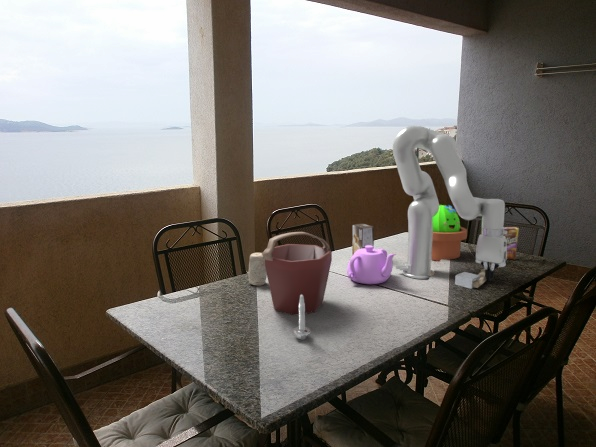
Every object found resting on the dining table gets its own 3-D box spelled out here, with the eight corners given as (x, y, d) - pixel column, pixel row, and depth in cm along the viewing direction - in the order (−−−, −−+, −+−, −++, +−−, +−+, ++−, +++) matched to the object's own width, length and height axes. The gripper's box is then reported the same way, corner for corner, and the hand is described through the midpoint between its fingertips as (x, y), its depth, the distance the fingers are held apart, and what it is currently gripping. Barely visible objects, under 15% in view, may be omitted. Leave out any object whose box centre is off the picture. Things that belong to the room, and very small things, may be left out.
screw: (301, 332, 129) (313, 337, 126) (289, 337, 125) (302, 343, 122) (300, 290, 126) (313, 294, 123) (289, 294, 123) (302, 298, 120)
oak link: (482, 273, 178) (483, 265, 177) (493, 275, 175) (494, 267, 174) (467, 285, 164) (468, 277, 163) (479, 288, 161) (480, 279, 160)
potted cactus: (406, 252, 214) (409, 201, 209) (445, 248, 221) (448, 199, 216) (433, 265, 194) (436, 209, 189) (474, 260, 200) (479, 206, 195)
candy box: (497, 262, 198) (500, 229, 194) (492, 259, 202) (494, 226, 199) (515, 261, 199) (519, 228, 196) (510, 258, 203) (513, 226, 200)
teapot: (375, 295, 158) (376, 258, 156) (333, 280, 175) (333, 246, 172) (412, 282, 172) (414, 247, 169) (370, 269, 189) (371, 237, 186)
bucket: (267, 321, 137) (265, 243, 132) (254, 296, 157) (253, 228, 152) (341, 312, 143) (342, 237, 138) (320, 290, 164) (320, 224, 159)
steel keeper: (471, 289, 161) (472, 279, 160) (454, 284, 165) (455, 275, 165) (479, 285, 165) (480, 275, 164) (463, 280, 170) (464, 271, 169)
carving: (263, 287, 167) (263, 257, 164) (245, 285, 169) (244, 255, 167) (270, 282, 173) (269, 252, 170) (252, 280, 175) (251, 251, 173)
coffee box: (374, 261, 200) (375, 226, 197) (362, 263, 197) (363, 228, 194) (362, 256, 208) (363, 223, 205) (351, 258, 206) (352, 224, 202)
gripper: (516, 232, 161) (513, 280, 165) (475, 228, 171) (473, 273, 175) (510, 236, 156) (506, 286, 159) (468, 231, 166) (466, 278, 169)
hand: (489, 279), depth 167 cm, fingers closed
